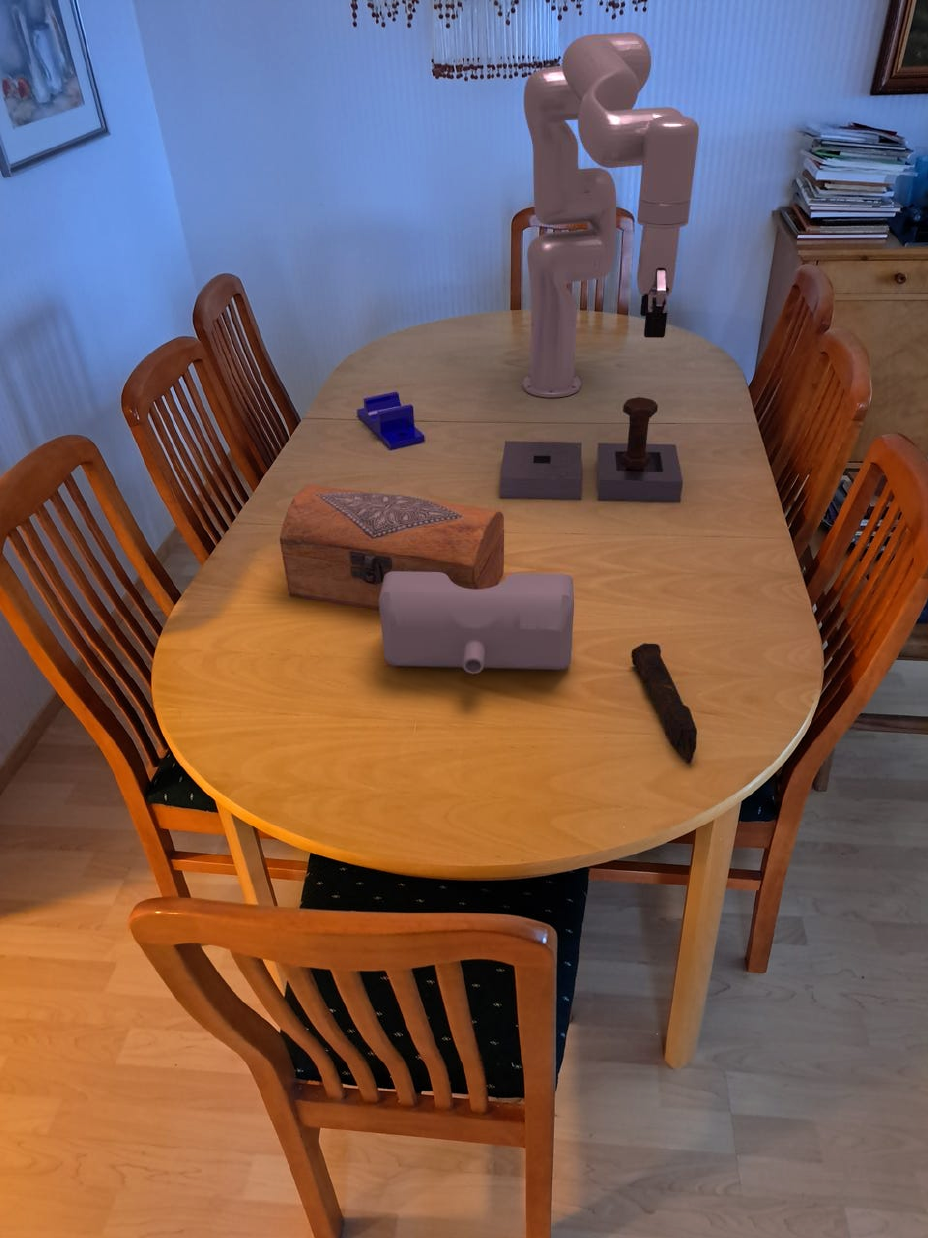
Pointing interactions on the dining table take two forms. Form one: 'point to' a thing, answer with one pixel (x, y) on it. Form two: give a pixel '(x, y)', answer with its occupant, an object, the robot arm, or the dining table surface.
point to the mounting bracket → (390, 420)
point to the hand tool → (666, 699)
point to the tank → (477, 622)
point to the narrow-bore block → (541, 470)
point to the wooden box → (384, 543)
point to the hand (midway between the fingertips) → (651, 325)
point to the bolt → (638, 432)
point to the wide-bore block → (639, 474)
